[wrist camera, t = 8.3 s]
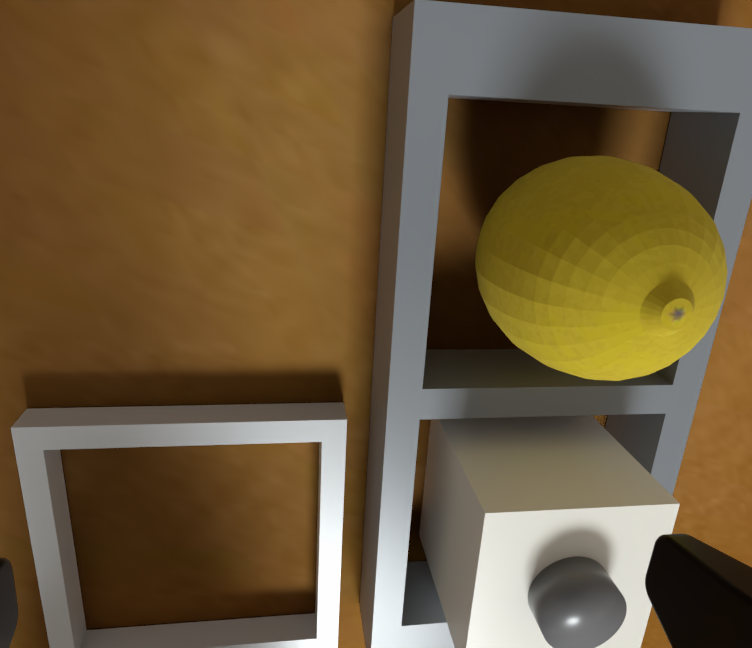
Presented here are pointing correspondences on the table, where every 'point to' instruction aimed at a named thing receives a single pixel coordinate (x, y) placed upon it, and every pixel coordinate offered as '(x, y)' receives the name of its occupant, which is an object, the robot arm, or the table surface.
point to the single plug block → (540, 532)
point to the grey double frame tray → (418, 236)
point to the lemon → (601, 267)
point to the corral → (176, 428)
